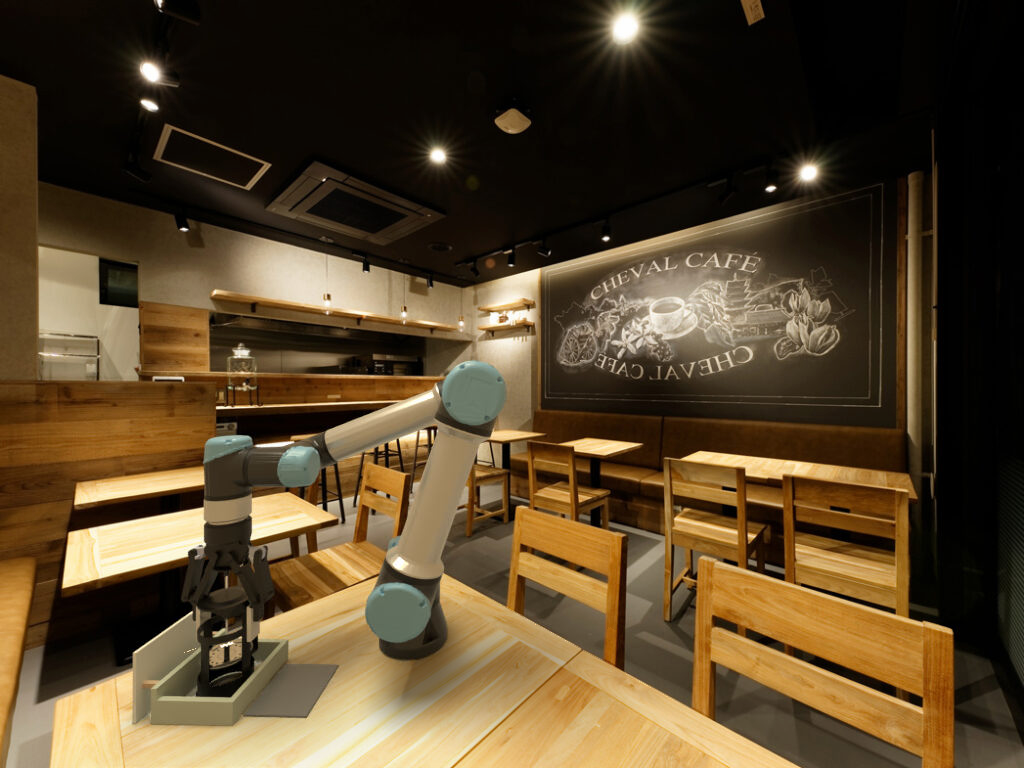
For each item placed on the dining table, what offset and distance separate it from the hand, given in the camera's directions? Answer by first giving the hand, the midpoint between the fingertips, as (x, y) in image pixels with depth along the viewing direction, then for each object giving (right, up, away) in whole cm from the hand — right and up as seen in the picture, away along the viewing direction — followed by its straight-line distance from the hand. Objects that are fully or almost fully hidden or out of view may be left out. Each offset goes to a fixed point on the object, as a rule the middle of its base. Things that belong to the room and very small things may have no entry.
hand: (228, 637), depth 78 cm
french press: (0, -9, 0) cm, 9 cm away
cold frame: (-2, -10, 0) cm, 10 cm away
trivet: (+13, -10, 0) cm, 16 cm away
